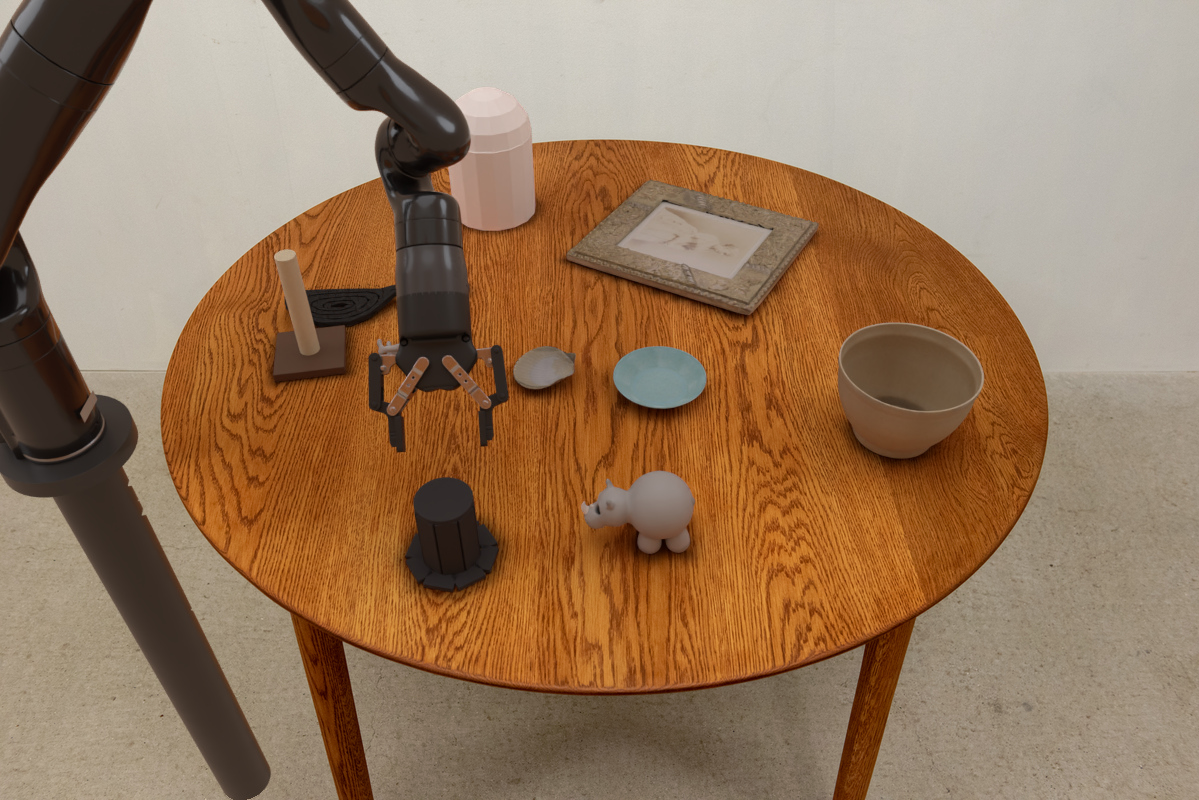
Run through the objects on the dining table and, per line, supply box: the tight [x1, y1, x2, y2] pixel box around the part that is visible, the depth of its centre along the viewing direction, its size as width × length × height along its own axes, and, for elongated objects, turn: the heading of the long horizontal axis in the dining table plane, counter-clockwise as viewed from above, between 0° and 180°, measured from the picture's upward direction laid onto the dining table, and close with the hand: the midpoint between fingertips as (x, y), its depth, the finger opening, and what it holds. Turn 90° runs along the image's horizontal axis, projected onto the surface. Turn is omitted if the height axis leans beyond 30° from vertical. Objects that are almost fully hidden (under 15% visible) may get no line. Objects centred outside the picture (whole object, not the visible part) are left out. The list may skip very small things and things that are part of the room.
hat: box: [404, 476, 499, 593], centre depth 98 cm, size 10×10×9 cm
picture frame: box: [565, 179, 820, 316], centre depth 145 cm, size 27×30×3 cm
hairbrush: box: [283, 283, 396, 328], centre depth 133 cm, size 8×4×25 cm
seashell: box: [512, 345, 577, 390], centre depth 122 cm, size 8×3×8 cm
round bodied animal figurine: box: [580, 470, 696, 555], centre depth 100 cm, size 7×12×8 cm, turn 90°
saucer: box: [612, 345, 707, 410], centre depth 120 cm, size 12×12×2 cm
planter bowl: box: [837, 322, 985, 459], centre depth 112 cm, size 16×16×11 cm
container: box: [447, 86, 536, 232], centre depth 147 cm, size 14×13×20 cm
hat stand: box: [272, 248, 347, 383], centre depth 121 cm, size 9×9×16 cm
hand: (443, 449), depth 98 cm, fingers open, 8 cm apart
